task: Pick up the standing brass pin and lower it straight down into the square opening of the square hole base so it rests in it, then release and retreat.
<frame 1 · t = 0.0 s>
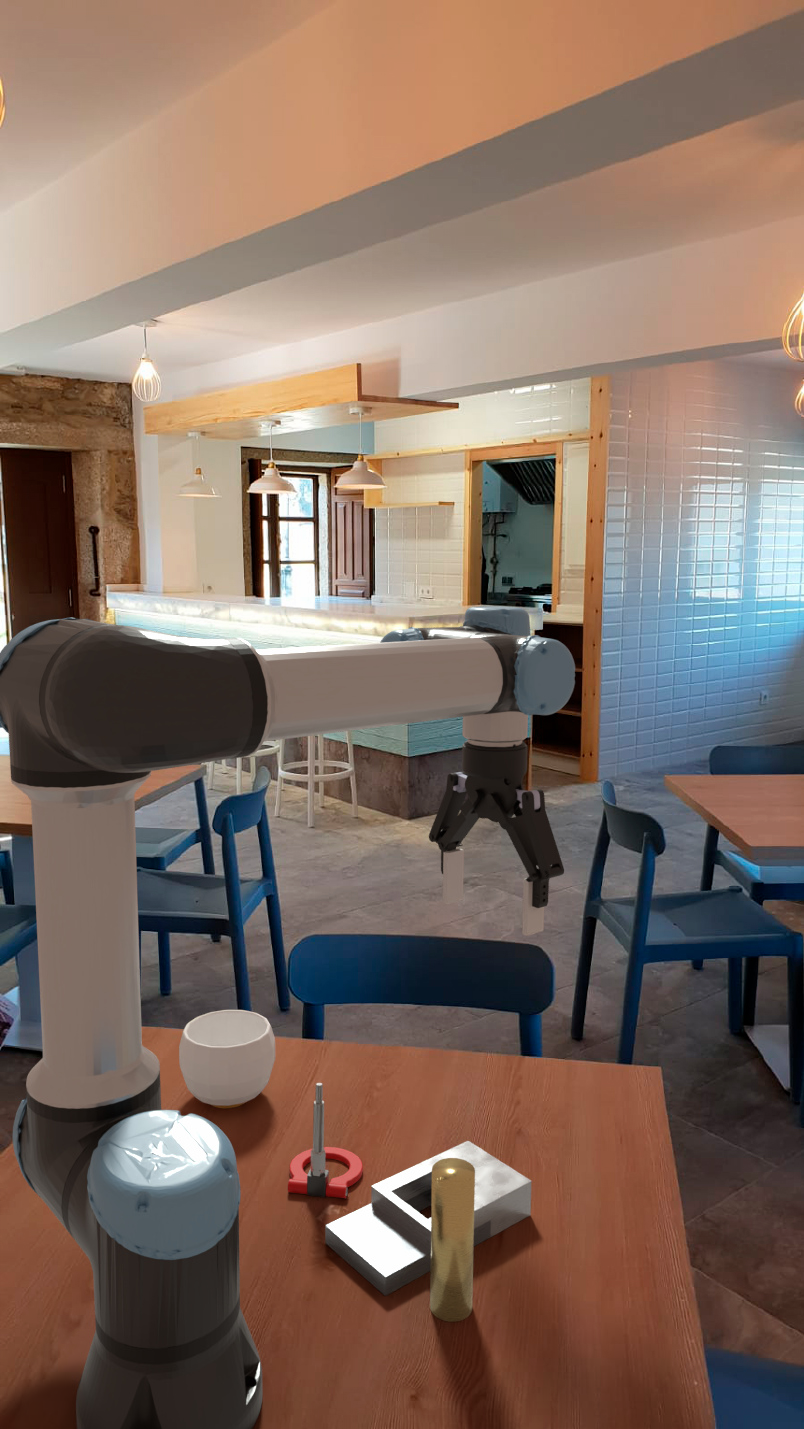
hand: (491, 916, 124), 28 cm above the table, fingers open, 13 cm apart
pin: (451, 1306, 99), on the table
square hole base: (430, 1228, 110), on the table
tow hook: (325, 1176, 120), on the table
cup: (228, 1098, 137), on the table
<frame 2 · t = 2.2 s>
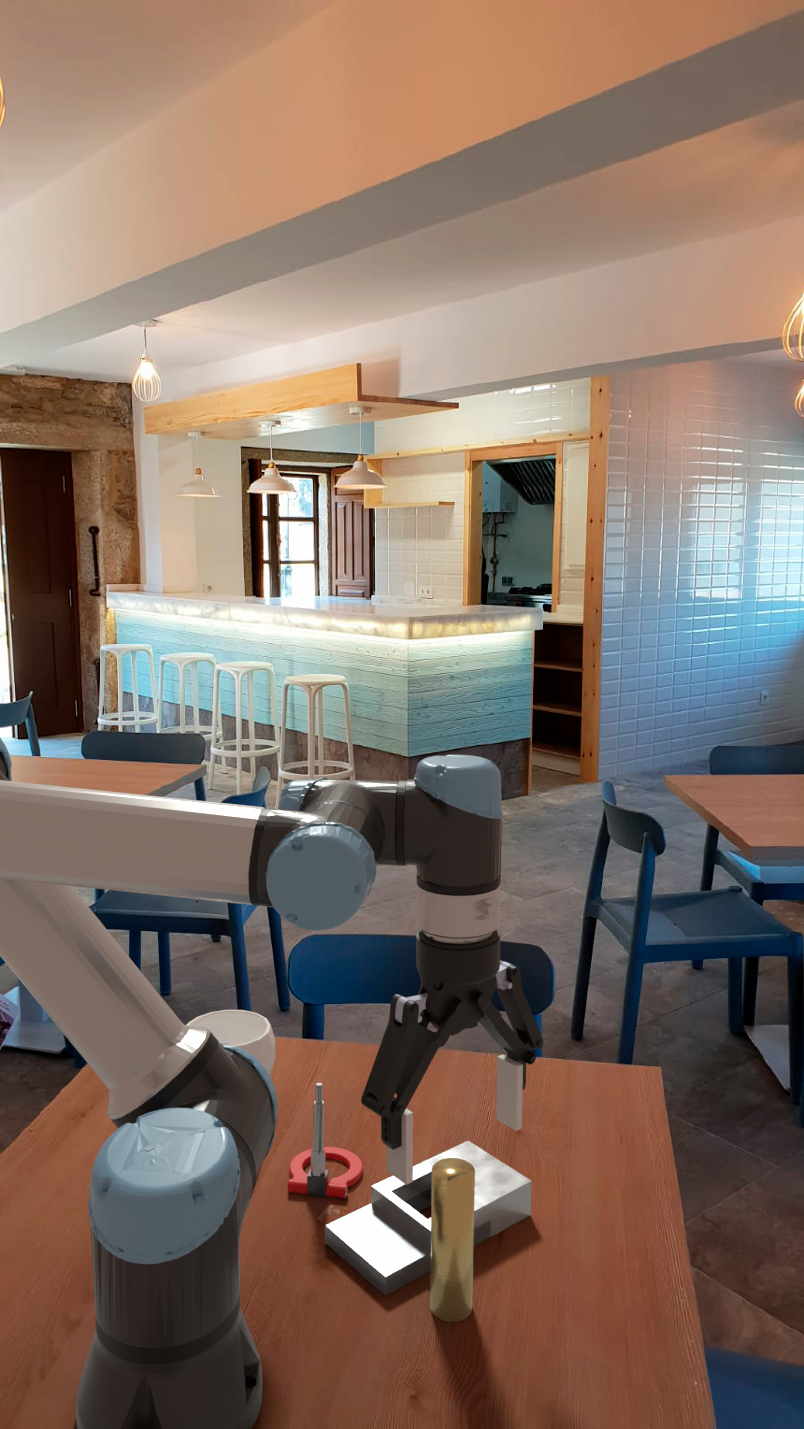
hand: (456, 1149, 96), 16 cm above the table, fingers open, 13 cm apart
nothing on the table moved.
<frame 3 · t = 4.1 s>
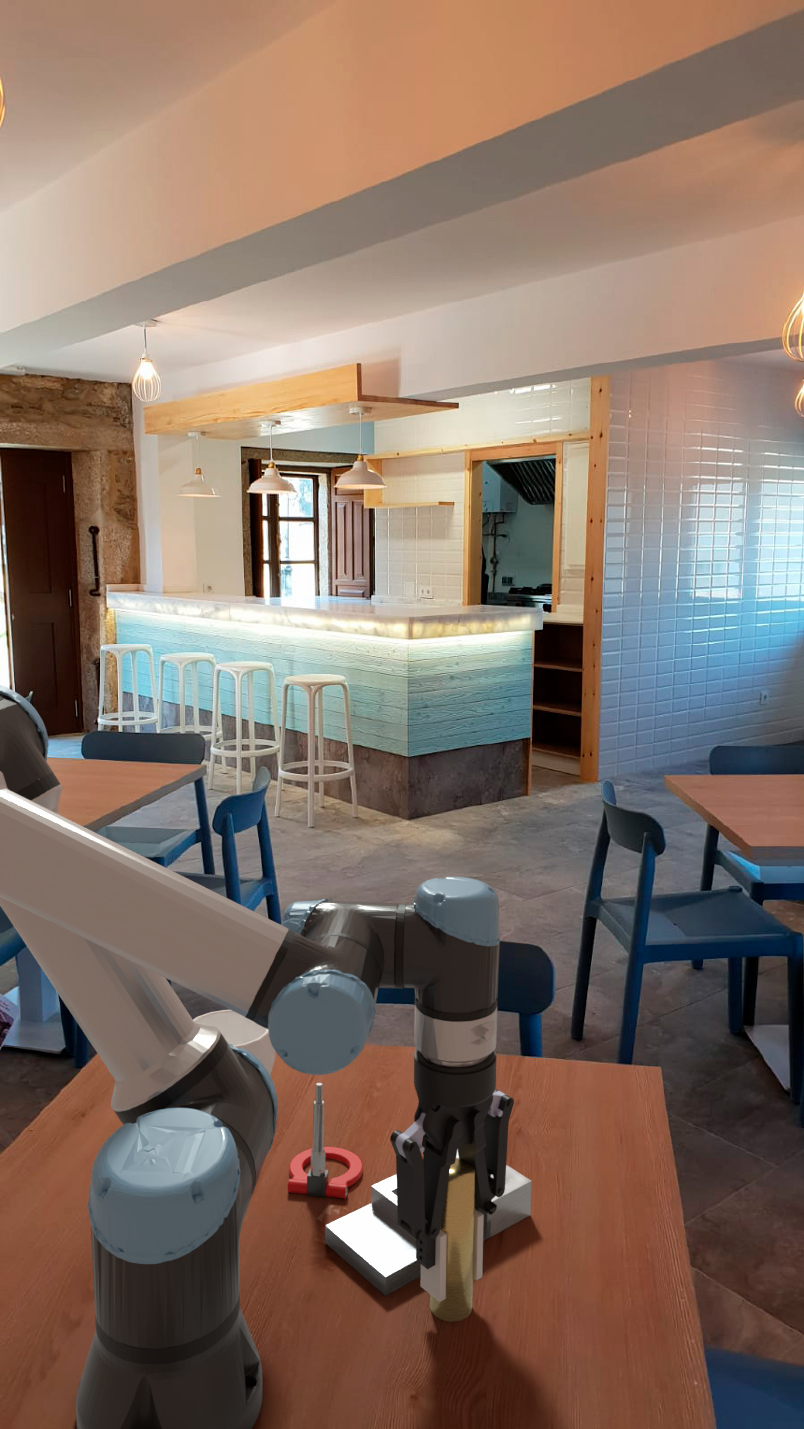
hand: (451, 1281, 98), 3 cm above the table, fingers closed on pin, 4 cm apart
pin: (451, 1306, 99), on the table, touching gripper
everything else where it was.
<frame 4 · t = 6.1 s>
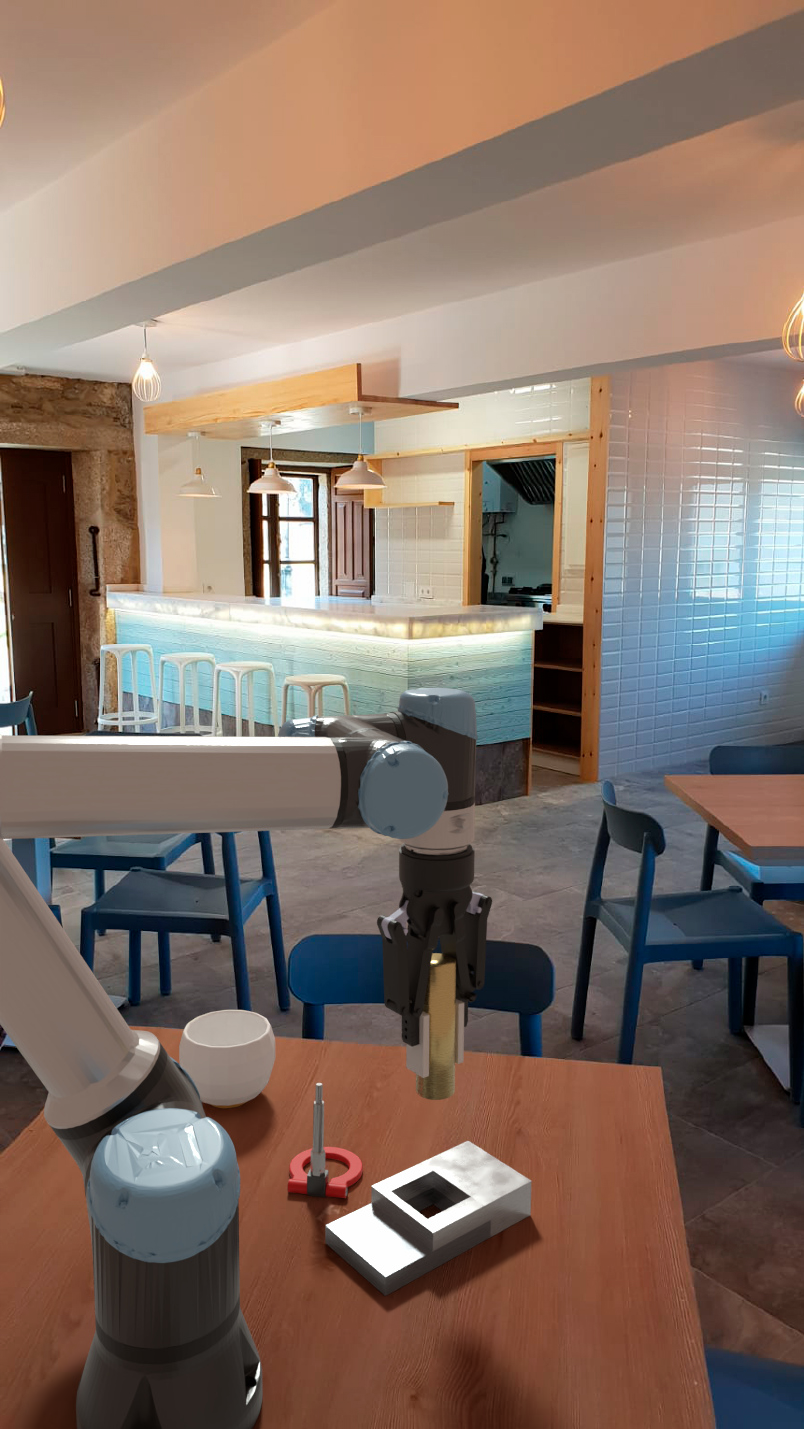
hand: (435, 1064, 107), 19 cm above the table, fingers closed on pin, 4 cm apart
pin: (435, 1090, 108), point 16 cm above the table, touching gripper
everything else where it was.
when the fingers open (5 cm above the table, at t = 8.0 s): pin drops 2 cm, resting in square hole base.
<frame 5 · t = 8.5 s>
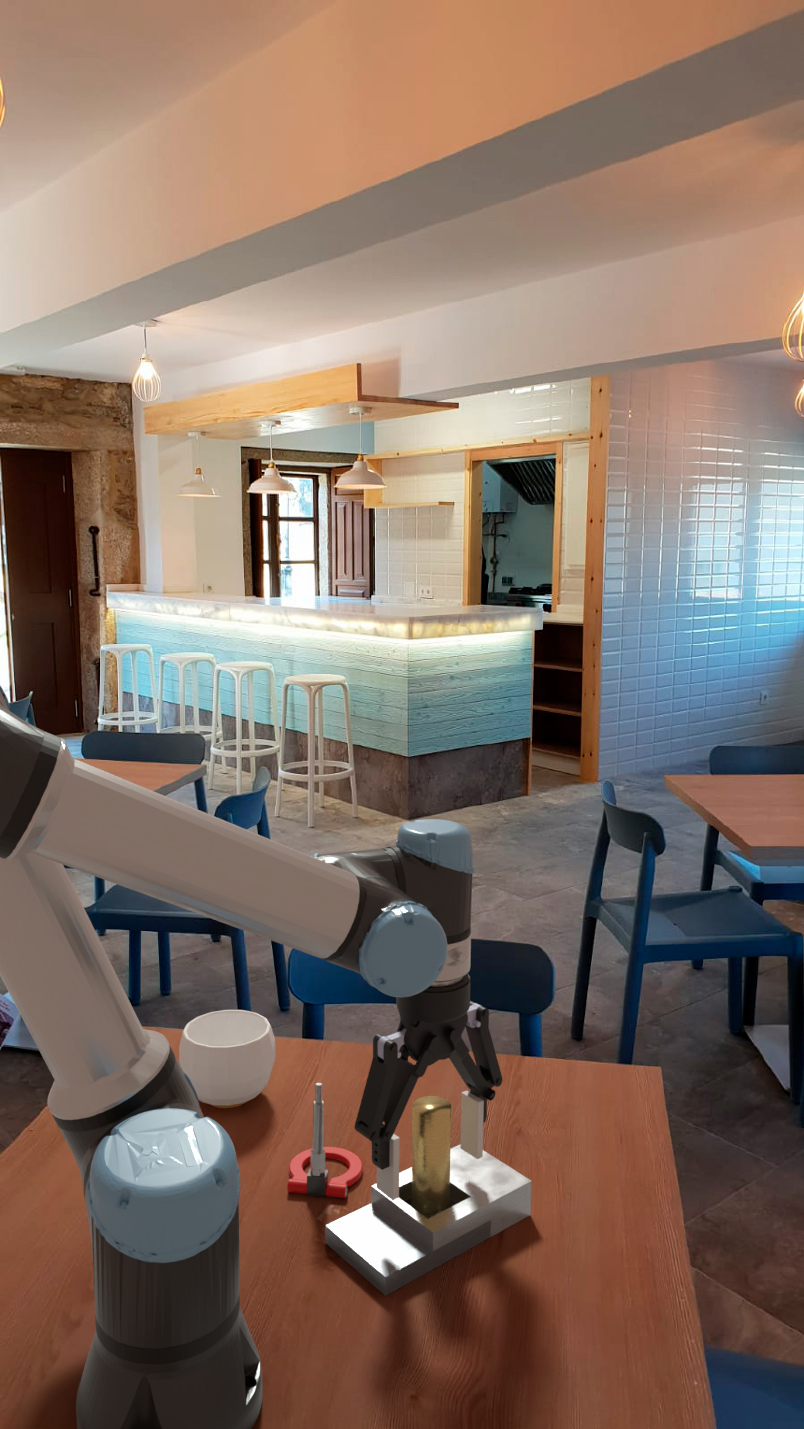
hand: (430, 1172, 109), 6 cm above the table, fingers open, 11 cm apart
pin: (430, 1229, 110), resting in square hole base
everything else where it was.
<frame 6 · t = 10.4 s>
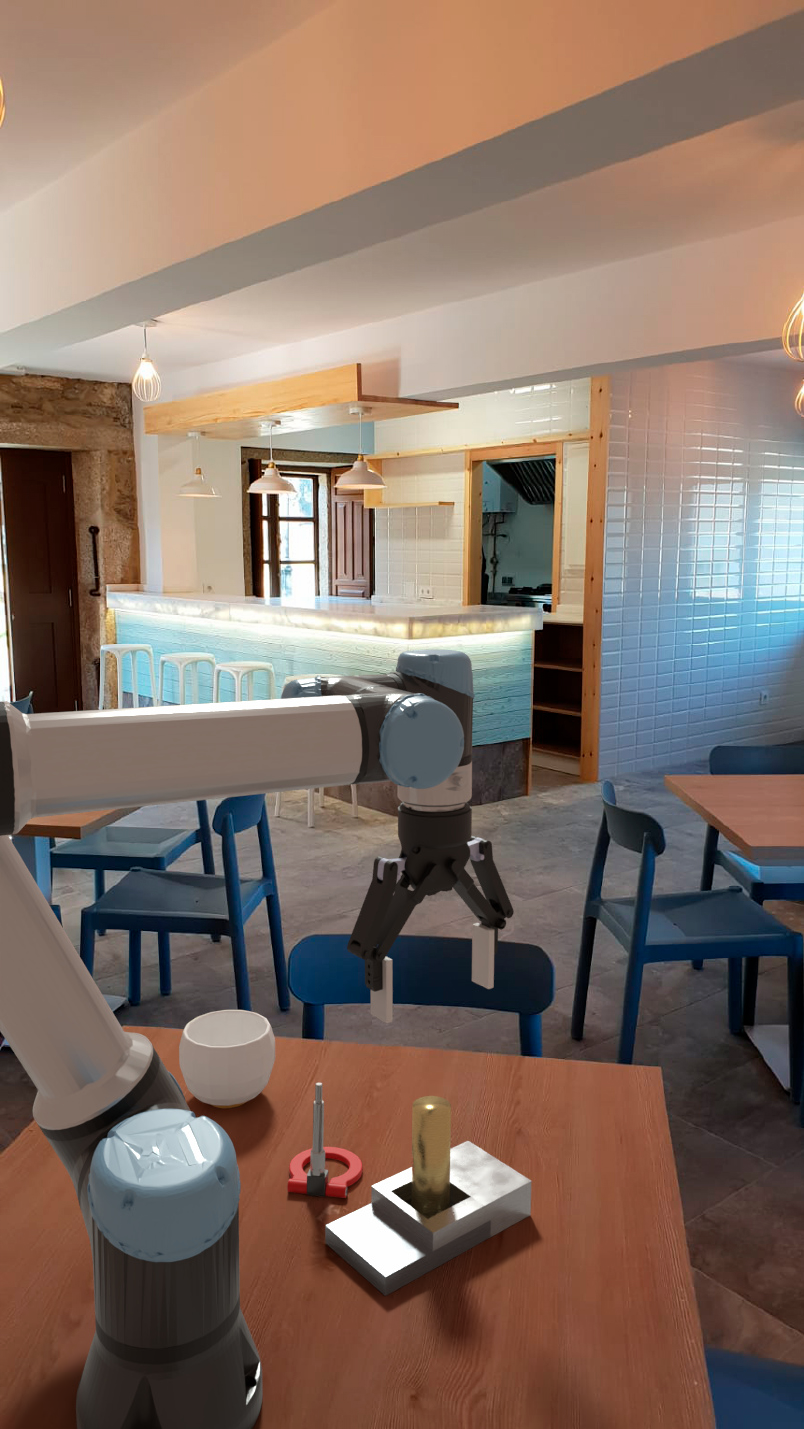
hand: (433, 1000, 109), 24 cm above the table, fingers open, 13 cm apart
nothing on the table moved.
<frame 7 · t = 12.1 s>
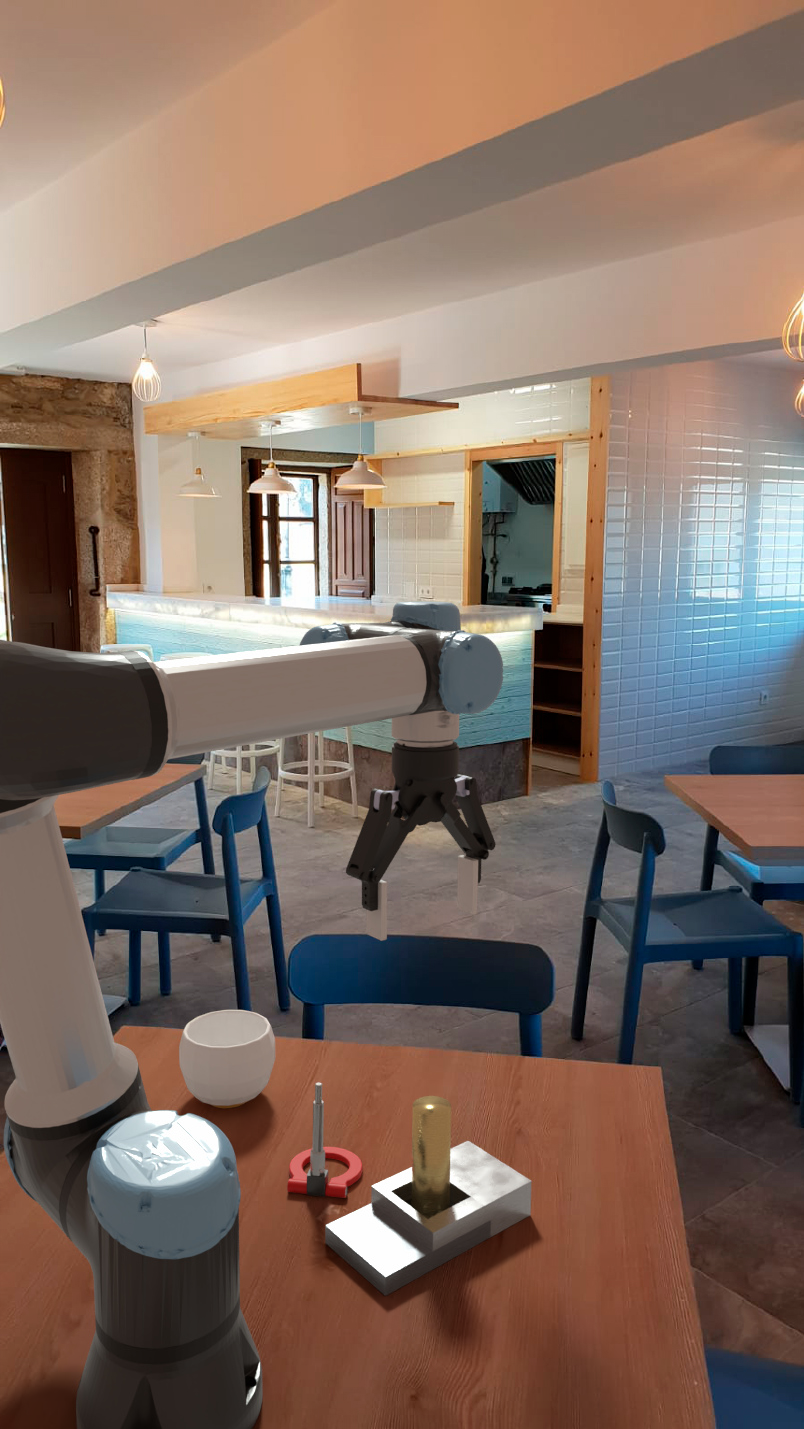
hand: (423, 923, 119), 29 cm above the table, fingers open, 13 cm apart
nothing on the table moved.
at the end: pin 0.1 cm off-centre on the square hole base, point 0.0 cm above the square hole base's base; pin tilted 0°; the gripper is holding nothing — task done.
